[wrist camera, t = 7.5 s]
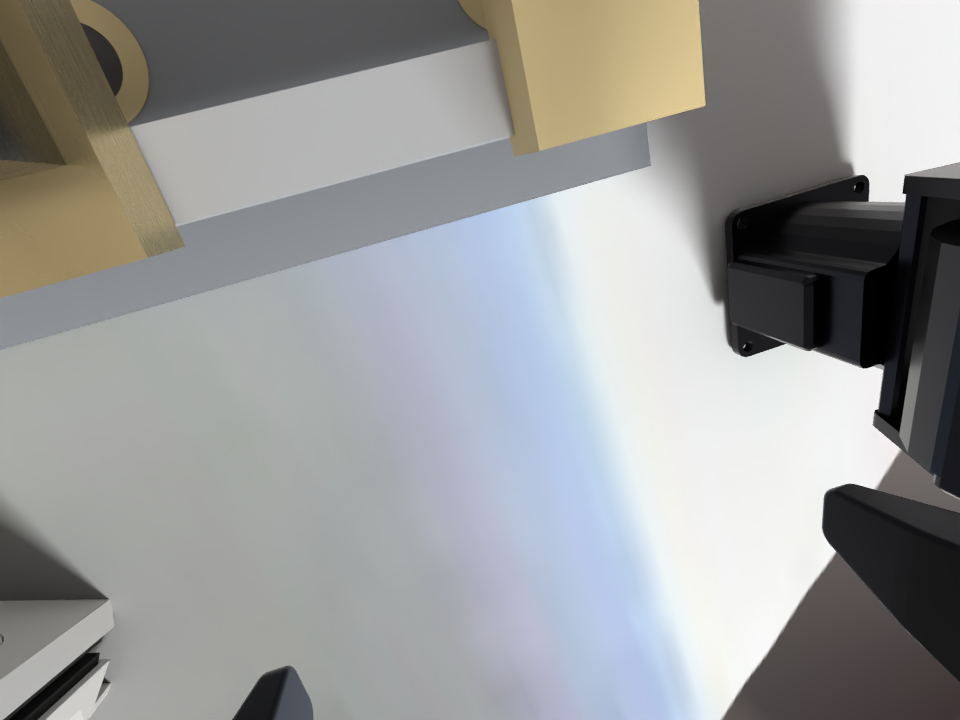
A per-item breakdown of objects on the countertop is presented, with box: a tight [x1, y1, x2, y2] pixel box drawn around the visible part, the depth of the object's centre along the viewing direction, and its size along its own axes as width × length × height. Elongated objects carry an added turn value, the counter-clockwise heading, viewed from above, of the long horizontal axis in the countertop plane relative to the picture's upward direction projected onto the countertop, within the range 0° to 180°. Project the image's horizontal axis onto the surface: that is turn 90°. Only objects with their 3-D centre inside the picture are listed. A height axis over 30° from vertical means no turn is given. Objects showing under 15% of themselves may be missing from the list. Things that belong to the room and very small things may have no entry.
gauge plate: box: [0, 0, 706, 350], centre depth 12 cm, size 24×12×8 cm, turn 104°
